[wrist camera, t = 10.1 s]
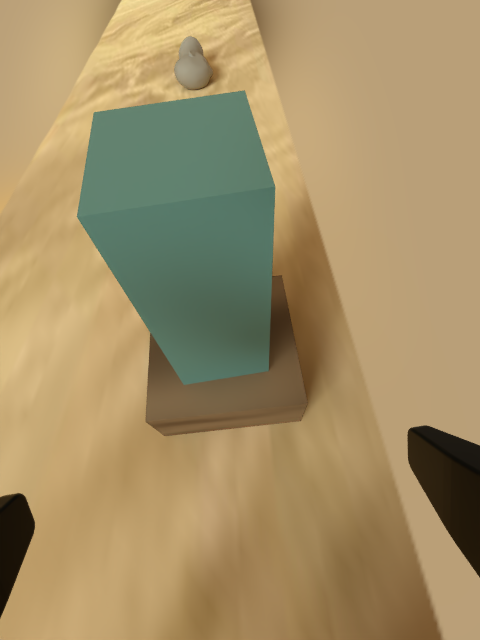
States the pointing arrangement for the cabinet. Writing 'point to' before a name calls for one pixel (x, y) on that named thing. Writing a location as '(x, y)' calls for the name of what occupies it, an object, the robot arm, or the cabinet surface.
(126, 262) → the pillar block
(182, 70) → the pale two-lobed sculpture
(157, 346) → the walnut base block
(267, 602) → the cabinet surface
